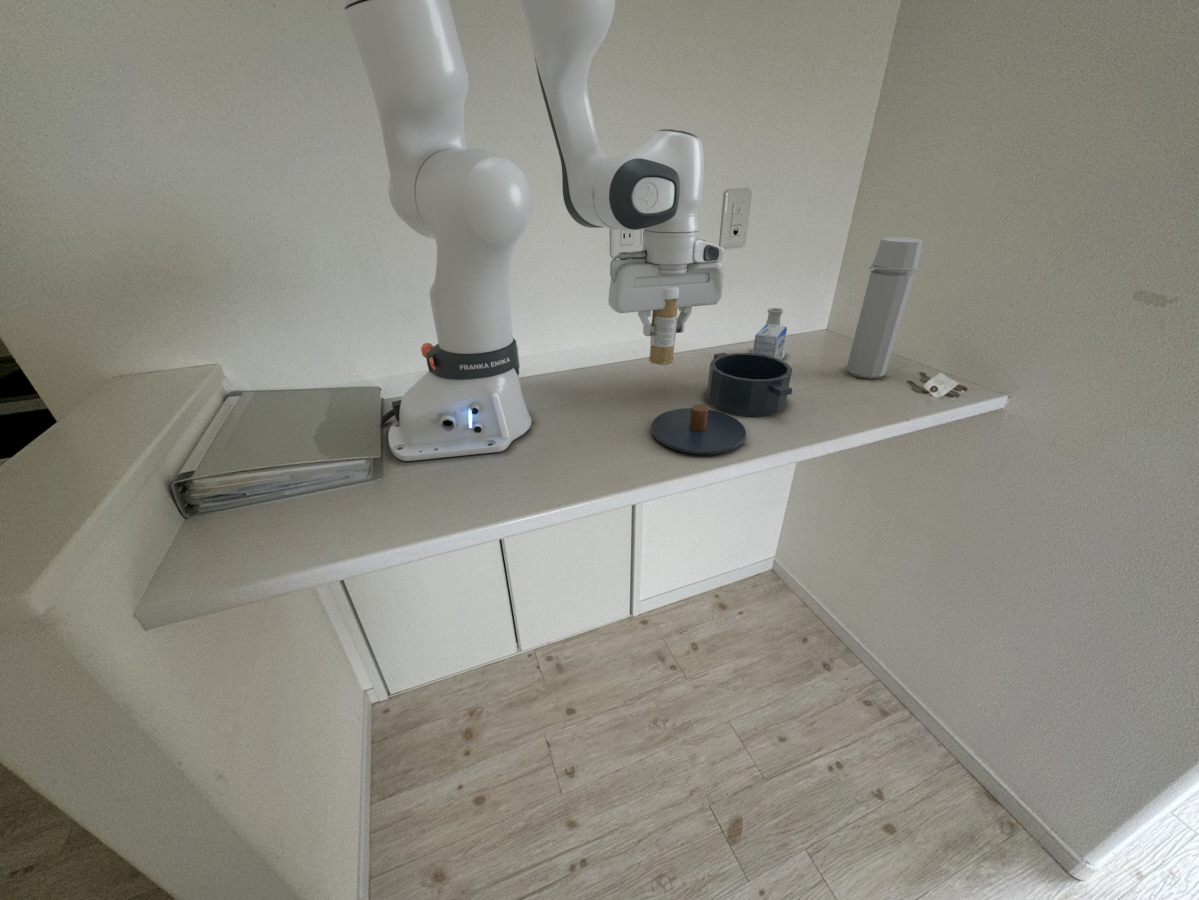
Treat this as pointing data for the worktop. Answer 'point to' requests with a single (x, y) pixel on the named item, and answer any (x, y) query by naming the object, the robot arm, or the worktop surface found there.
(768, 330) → the medicine box
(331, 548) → the worktop surface
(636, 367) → the worktop surface
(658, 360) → the sprinkles bottle
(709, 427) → the pan lid
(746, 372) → the pan
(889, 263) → the water bottle
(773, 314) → the flask
